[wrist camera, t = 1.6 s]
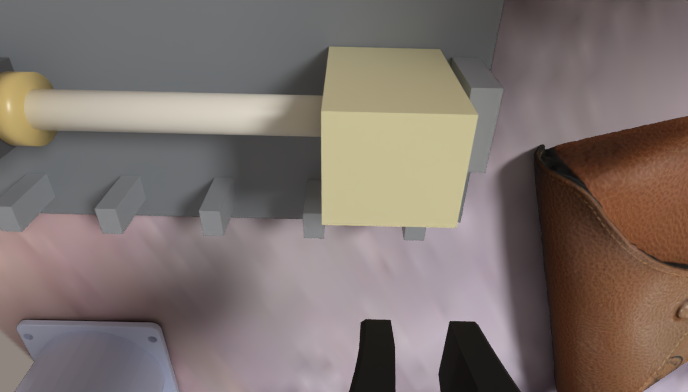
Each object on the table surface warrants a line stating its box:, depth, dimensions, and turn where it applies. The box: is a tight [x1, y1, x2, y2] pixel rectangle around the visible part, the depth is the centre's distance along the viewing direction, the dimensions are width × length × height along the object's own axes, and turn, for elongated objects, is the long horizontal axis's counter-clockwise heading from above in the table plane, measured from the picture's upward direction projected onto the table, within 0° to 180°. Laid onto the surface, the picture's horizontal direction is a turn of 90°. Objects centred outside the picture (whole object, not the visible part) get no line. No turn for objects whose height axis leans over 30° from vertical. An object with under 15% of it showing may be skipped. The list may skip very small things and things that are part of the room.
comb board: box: [0, 0, 504, 241], centre depth 17 cm, size 21×12×4 cm, turn 89°
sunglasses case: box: [534, 116, 688, 392], centre depth 23 cm, size 18×7×7 cm, turn 18°
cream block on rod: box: [321, 46, 478, 228], centre depth 15 cm, size 4×4×6 cm
